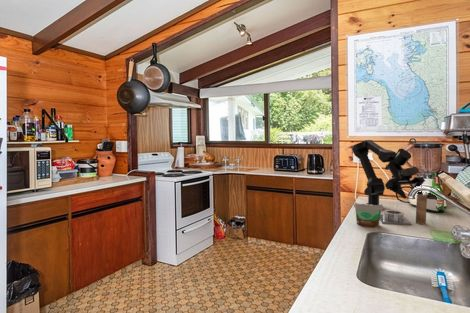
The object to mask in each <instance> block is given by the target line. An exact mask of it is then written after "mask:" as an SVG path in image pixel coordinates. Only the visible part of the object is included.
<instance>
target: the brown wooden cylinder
mask: <svg viewBox="0 0 470 313" xmlns="http://www.w3.org/2000/svg"><path fill="white" fill-rule="evenodd" d="M426 208H427V196H426V195H418V194H416V206H415V223H416V224H418V225H427V224H426V223H427V211H426Z"/></svg>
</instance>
